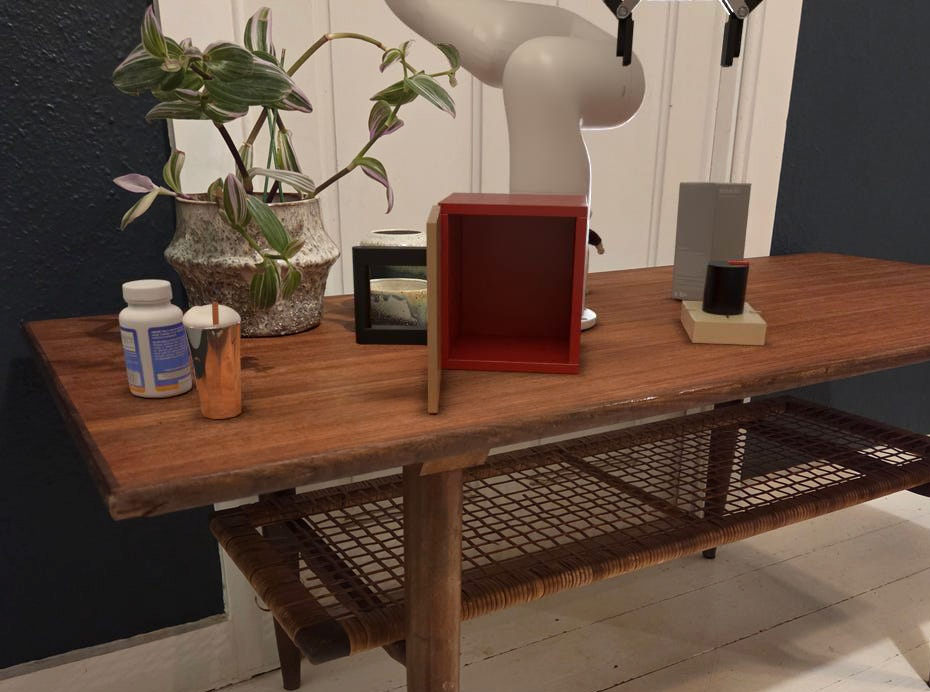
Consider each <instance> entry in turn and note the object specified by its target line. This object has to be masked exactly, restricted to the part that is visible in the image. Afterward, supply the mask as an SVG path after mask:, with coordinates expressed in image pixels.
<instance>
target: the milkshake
mask: <svg viewBox="0 0 930 692" xmlns="http://www.w3.org/2000/svg"><path fill="white" fill-rule="evenodd" d="M241 321H242V319H241V316H240V314H239V313H238V311H236V310H235V309H233V308H232V307H230V306H226V305H223V304H219V302H218V301H212V302H211V304H206V305H195V306H192V307H191V308H190V309H188V310H187V311H186V312H185V313H184V314H183V319H182V322H183V326H184V331H185V335H186V341H187V349H188V353H189V357H190V360H191V365H192V371H193V375H194V381H195V386H196V391H197V396H198V401H199V406H200V412H201V415H202V416H203V418H207V419H211V420H225V419H229V418H234V417H237V416H238V415H240V414H241V413H242V369H241V368H242V367H241V366H242V365H241V344H242V343H241V334H242V331H241V329H242V322H241Z"/></svg>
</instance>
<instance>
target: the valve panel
mask: <svg viewBox="0 0 930 692" xmlns="http://www.w3.org/2000/svg"><path fill="white" fill-rule="evenodd" d="M702 302H703V301H688V300H682V301H681V309H680V322H681V325H682V326H683V328H684V330H685V332H686V333H687V336H688V338H689V340H690V341H691V343H692V344H714V345H741V346H765V342H766V334H767V328H768V323H767V322H766V320H764V319H763V317H761V315H760V314H762V311H761V310H755V309H754V307H752V306H751V305H750V304H749V303H748V302H745V303H744V311H743V313H742V314H738V315H717V314H711V313H707V312H704V311H702Z"/></svg>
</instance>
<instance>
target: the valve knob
mask: <svg viewBox="0 0 930 692" xmlns="http://www.w3.org/2000/svg"><path fill="white" fill-rule="evenodd" d="M749 272H750V261H748V260H743V261H710V262H707V266H706V275H705V284H704V293H703V302H702V311H704V312H707V313H711V314H717V315H738V314H742V313H743V311H744V303H746V296H747V295H746V294H747V287H748V279H749Z"/></svg>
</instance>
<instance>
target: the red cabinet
mask: <svg viewBox="0 0 930 692" xmlns="http://www.w3.org/2000/svg"><path fill="white" fill-rule="evenodd" d="M437 205H441V353H442V369H441V370H461V371H486V372H487V371H491V372H515V373H516V372H517V373H518V372H519V373H539V374H540V373H541V374H543V373H544V374H566V375H578V374H579V370H580V369H579V367H580V351H581V333H582V332H581V331H582V330H581V318H582V301H583V283H584V266H585V249H586V231H587V214H588V204H587V199H586V195H546V194H509V193H495V192H494V193H493V192H492V193H491V192H452V193H451V194H449V195H448V196H446V197H445V198H443V199H442V200H440V201H438V202H437Z"/></svg>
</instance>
